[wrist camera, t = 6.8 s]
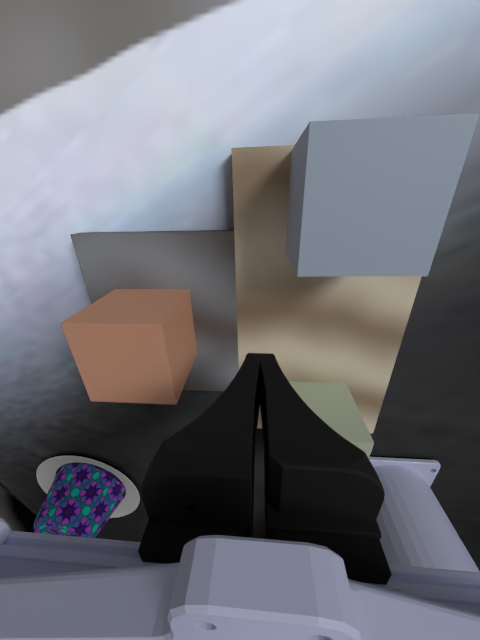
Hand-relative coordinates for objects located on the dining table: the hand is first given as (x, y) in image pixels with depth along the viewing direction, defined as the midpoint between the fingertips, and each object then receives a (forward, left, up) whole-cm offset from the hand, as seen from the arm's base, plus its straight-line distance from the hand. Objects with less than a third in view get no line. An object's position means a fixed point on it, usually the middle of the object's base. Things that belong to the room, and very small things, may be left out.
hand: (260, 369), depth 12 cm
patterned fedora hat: (-22, +20, -6) cm, 30 cm away
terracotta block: (0, +7, -5) cm, 9 cm away
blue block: (+7, -4, -5) cm, 10 cm away
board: (0, +1, -6) cm, 6 cm away
